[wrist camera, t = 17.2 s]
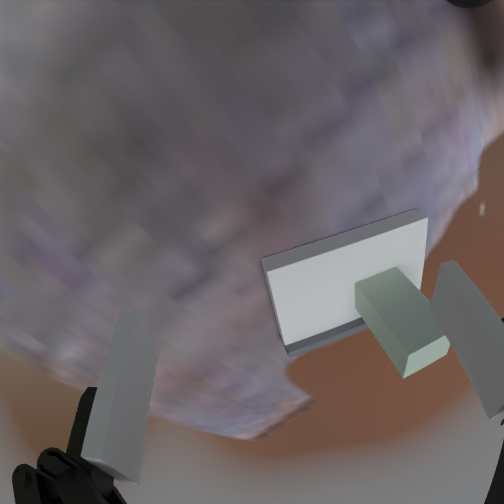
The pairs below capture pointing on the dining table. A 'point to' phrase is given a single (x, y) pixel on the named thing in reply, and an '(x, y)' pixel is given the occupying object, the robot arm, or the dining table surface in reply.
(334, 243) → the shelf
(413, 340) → the carton
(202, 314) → the dining table surface
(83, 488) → the robot arm
